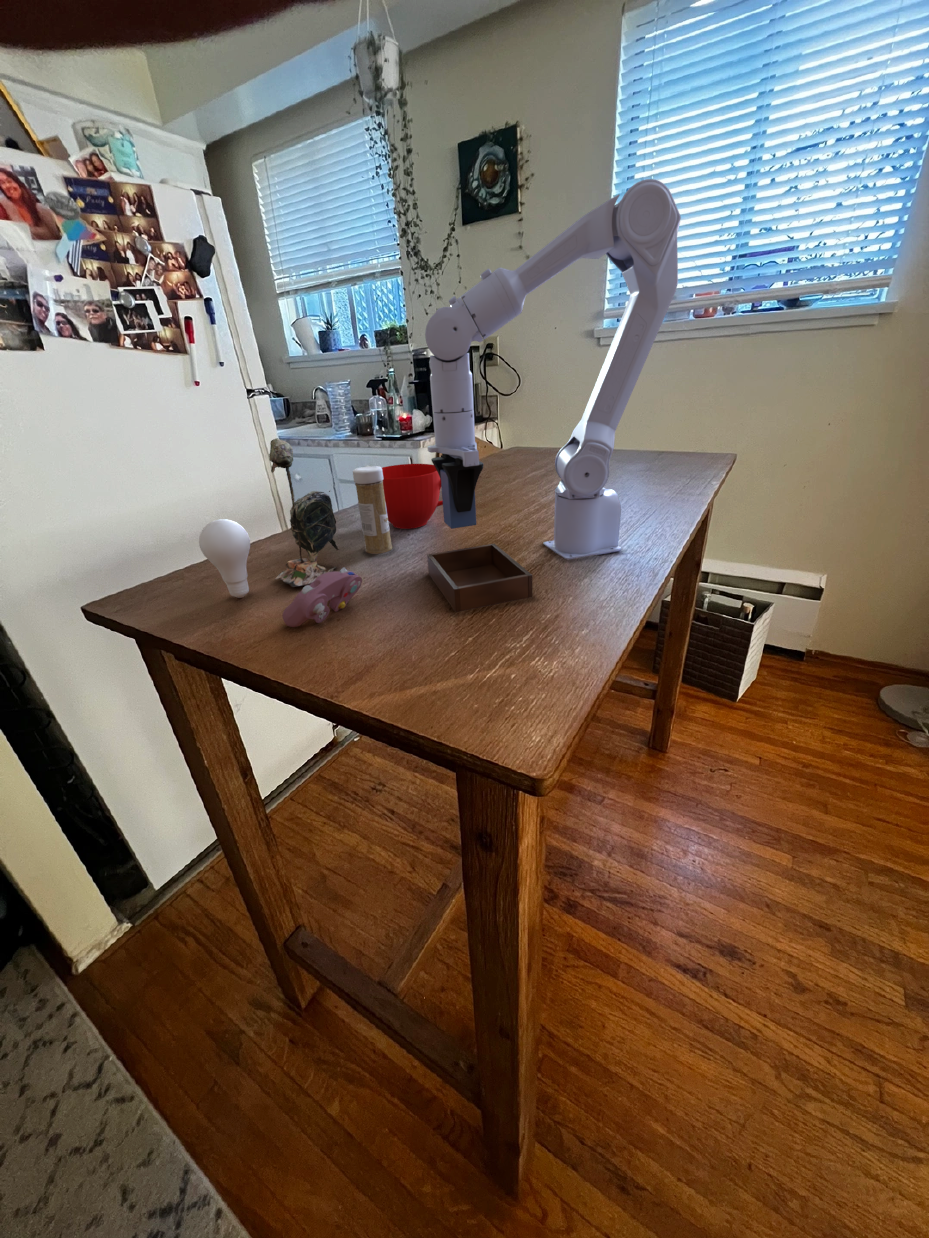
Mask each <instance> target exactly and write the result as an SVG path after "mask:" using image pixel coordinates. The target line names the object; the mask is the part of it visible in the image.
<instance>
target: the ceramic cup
mask: <svg viewBox="0 0 929 1238" xmlns="http://www.w3.org/2000/svg"><path fill="white" fill-rule="evenodd" d="M381 468H382V472H383V489H384V496H385V502H386V508H387V515H388V522H389V524H391V525H392V526H393V527H394V528H395V529H396V528H397V529H401V530H409V529H410V530H411V529H417V528H420V527H424V526H426V525H427V524H428V522H429V520H431V518H432V516H433V514H434V513H435V511H436V509H437V508H438V507H441V506H443V500H442V499H441V500H440V493H441V490H442V487H441V479H440V476H439V474H438V472H437V470H436V468H435V466H434V464H430V463H401V464H393V465H388V466H382V467H381Z"/></svg>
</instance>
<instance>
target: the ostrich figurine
mask: <svg viewBox="0 0 929 1238" xmlns="http://www.w3.org/2000/svg"><path fill="white" fill-rule="evenodd" d="M268 457H269V461H270V463H272V465H271V470H270V473H274V472H275V470H276V468H280V469H285V472H286V477H287V481H288V487H289V491H290V497H291V498H290V499H291V505H292V506H291V507H290V510H289V515H290V519H289V523H290V531H291V533H292V537H293V538H294V542H295V545H297V546H298V548H299V557H300V558H296V559H291V560H288V561H287V562H286V563H285V567H286V569H285V570H283V571H281V573H278V575H277V576H276V577H275V578H274V580H275V581H276V580H279V579H280V581H283V582H284V583H285V584H287V585H289V586H290V587H291V588H295V587H302V586H307V585H310V584H311V583H312V582H313V581H314V580H315V579H316V578H317V577H318V576H320V575H321V574H324V573H327V572H333V571H335V570H334V569H336V568H337V566H334V567H332V568H330V569H328V570H327V571H326V567H324V566H321V565H319V563H318V562H317V559H318V555H319V552H321V551H322V550H323V549H324V548H325V547H326V545H327V544H328V543H330V544H331V546H332V547H333V549H335V551H340V548H339V547H338V544H337V543H336V541H335V539H334V536H335V534H336V532H337V526H336V524H337V520H336V516H335V513H334V510H333V504H332V503H333V502H332V499H331V497H330V495H329V494H328V493H330V492H331V490H329V491H328V493H326V492H324V491H318V490H312V491H309V492H308V493H306V494H305V495H304V496H302V497H300V498H297V499H296V501H295V494H294V487H293V482H292V477H291V471H290V468H291V467H292V466H293V462H294V449H293V447H292V445H291V444H290V443H288V442H287V441H285V440H283V439H280V438H273V439H272V440H270V450H269V454H268ZM302 549H303V550H305V551H306V553H307V558H303V557H302Z"/></svg>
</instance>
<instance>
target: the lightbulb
mask: <svg viewBox="0 0 929 1238" xmlns="http://www.w3.org/2000/svg"><path fill="white" fill-rule="evenodd" d="M198 547H199V549H200V552H201V554H203V556H204V557H205V558H206V560H207V561H209V562H210V563H211V564H212V565H213V566H214V567H215V568H216V570H217V571H218V572H219V574H220V577H221V579H222V581H223V582H224V583H225V585H226V587H227V590H228V593H229V596H231V597H235V598H237V599H242V598H245V597H246V595H248V593H249V592H250V587H249V583H248V576H249V575H248V571H247V562H248V558H249V553H250V550H251V539H250V534H249V533H248V531H247V530H246V529H245V527H243V526H242V525H241V524H240V523H239V522H236V521H234V520H232V519H227V518H220V519H218V518H217V519H215V520H212V521H210V522H209V523H207V524H206V525H205V526H204V527H202V529H201V531H200V533H199V537H198Z"/></svg>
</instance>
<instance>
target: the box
mask: <svg viewBox="0 0 929 1238" xmlns="http://www.w3.org/2000/svg"><path fill="white" fill-rule="evenodd" d="M426 559H427V568H428V575H429V577H430V578H431V579H432V581H433V582H434V584H435V585H436V586H437V588H438V589H439V591H440V592H441V593H442V595H443V596H444V598H445V599H446V601H447V602H448V603H449V605H450V607H451V608H452V610H453V611H454V612H455V613H460V612H465V611H469V610H475V609H480V608H485V607H490V606H495V605H499V604H500V605H501V604H505V603H510V602H515V601H521V600H525V599H530V598H533V574H532V573H531V572H529V570H527V569H526V568H525V567H524V566H522V565H521V564H520V563H519V562H518V561H517V560H515V559H514V558H512V556H511V555H509V554H508V553H506V552H505V551H504V549H501V547H500V546H498V545H497V544H496V543H489V544H483V545H476V546H470V547H465V548H458V549H452V550H446V551H441V552H433V553H428V554H427V555H426Z"/></svg>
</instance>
